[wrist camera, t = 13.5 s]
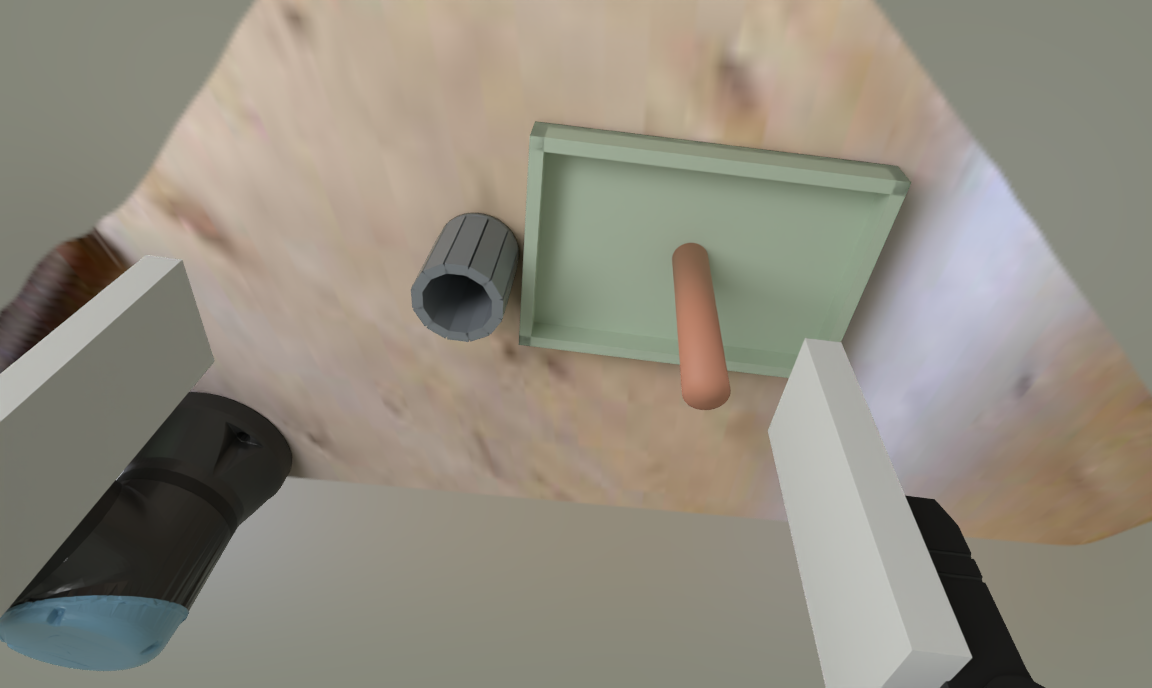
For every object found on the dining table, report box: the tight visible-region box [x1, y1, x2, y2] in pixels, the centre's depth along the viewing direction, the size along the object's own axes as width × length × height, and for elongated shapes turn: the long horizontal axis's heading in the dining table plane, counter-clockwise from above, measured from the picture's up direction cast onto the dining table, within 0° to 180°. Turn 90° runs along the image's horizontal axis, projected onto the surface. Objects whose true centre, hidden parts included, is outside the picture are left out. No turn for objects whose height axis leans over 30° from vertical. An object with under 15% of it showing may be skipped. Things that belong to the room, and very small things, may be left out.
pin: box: [672, 243, 730, 410], centre depth 44 cm, size 6×3×16 cm, turn 84°
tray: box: [519, 122, 911, 378], centre depth 50 cm, size 26×18×3 cm
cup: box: [411, 213, 519, 342], centre depth 49 cm, size 7×7×8 cm
